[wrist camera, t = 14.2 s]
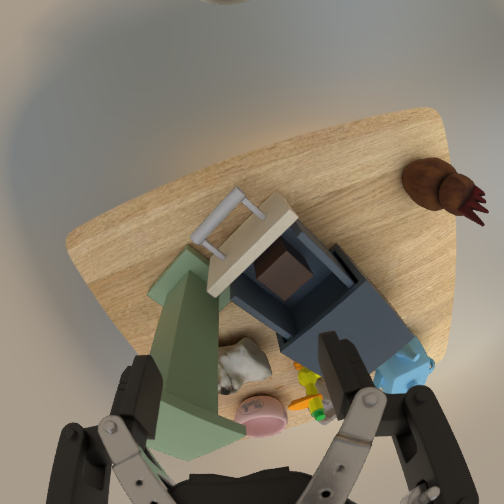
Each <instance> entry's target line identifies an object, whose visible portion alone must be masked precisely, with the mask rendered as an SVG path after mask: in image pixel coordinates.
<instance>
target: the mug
mask: <svg viewBox="0 0 504 504" xmlns="http://www.w3.org/2000/svg"><path fill="white" fill-rule="evenodd" d="M234 422H237V423H240V424H242V425H245V426H246V434H247V437H252V438H264V437H269V436H273V435H275V434H278V433H280V432H281V431H283V430H284V429H285V428H286V426H287V423H288V416H287V412H286V410H285V408H284V406H283V405H282V404H281V403H280V402H279V401H278V400H277V399H275V398H273V397H271V396H254V397H251V398H248V399H246V400H244V401H243V402H242V403H241V404H240V405H239V407H238V409H237V411H236V414H235V420H234Z"/></svg>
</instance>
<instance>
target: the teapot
mask: <svg viewBox="0 0 504 504" xmlns="http://www.w3.org/2000/svg"><path fill="white" fill-rule="evenodd" d="M414 336H415V335H414ZM430 365H431V368H430V369H429V367H430ZM434 367H435V362H434V360H433V359H431V358H430V357H428V356H427V354H426V352H425V349H424V348H423V346H422V344H421V342H420V341H419V339H418V338H417V337H416V336H415V338H413V339H412V340H411V341H410V342H409V343H408V344H407V345H405V346H404V347H403V348H402V349H401V350H399V351H398V352H397V353H396V354H395V355H393V356H392V357H391V358H390V359H388V360H387V361H386V362H385V363H383V364H382V365H381V366H379V367H378V368H377V369H376V373H375V377H374V381H373V383H374V385H375V386H376V388H378V389H380V387H381V388H382V390H383V391H384V393H388V394H399V393H406V392H407V391H408V389H410V388H411V387H413V386H415V385H425V382H426V379H427V376H428V374H430V373H431V372H432V371H433V369H434Z"/></svg>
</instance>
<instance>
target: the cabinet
mask: <svg viewBox="0 0 504 504" xmlns="http://www.w3.org/2000/svg"><path fill="white" fill-rule="evenodd" d="M329 251H330V252H331V253H332V254H333V255H334V256H335V257H336V258H337V259H338V260H339V261H340V262H341V263H342V264H343V266H344V267H345V268H346V270H347V271H348V272H349V274H350V275H351V277H352V278H353V279H354V281H355V282H356V284H355V285H354V286H353V287H352V288H351V289H350V290H349V291H348V292H346V293H345V294H344V295H343V296H342V297H341V298H340V299H338V300H337V301H336V302H335V303H334V304H333V305H331V306H330V307H329V308H328V309H327V310H326V311H324V312H323V313H322V314H321V315H320V316H319V317H317V318H316V319H315V320H314V321H312V322H311V323H310V324H309V325H308V326H306V327H305V328H304V329H303V330H301V331H300V332H299V333H298V334H296V335H295V336H294V337H293V338H291V339H290V340H287V339H286V338H284V337H283V336H281V335H280V334H278V333H277V332H276V335H277V339H278V344H279V347H280V352H281V353H282V354H284V355H286V356H287V357H289V358H291V359H292V360H294V361H296V362H297V363H299V364H301V365H302V366H304V367H306V368H307V369H309V370H311V371H312V372H314V373H316V374H318V375H319V376H321V377H323V375H322V372H321V369H320V366H319V362H318V335H319V333H323V332H328V331H333V330H335V332H336V334H337V336H338V338H339V340H342V339H346V338H347V339H348V340H349V341H351V342H352V343H353V344H354V345H355V347H356V349H357V351H358V353H359V355H360V357H361V359H362V361H363V363H364V365H365V367H366V369H367V371H368V373H369V374H370V373H371V372H373V371H374V370H375V369H377V368H378V367H379V366H381V365H382V364H383V363H385V362H386V361H387V360H388V359H390V358H391V357H392V356H393V355H395V354H396V353H397V352H398V351H399V350H401V349H402V348H403V347H404V346H405V345H407V344H408V343H409V342H410V341H411V340H412V339H413V338H415V336H414V335H413V333H412V332H411V331H410V329H409V328H408V327H407V325H406V324H405V323H404V321H403V320H402V319H401V317H400V316H399V315H398V313H397V312H396V311H395V310H394V308H393V307H392V306H391V304H390V303H389V302H388V301H387V299H386V298H385V297H384V296H383V295H382V293H381V292H380V291H379V290H378V289H377V288H376V286H375V285H374V284H373V283H372V282H371V281H370V280H369V278H368V277H367V276H366V275H365V274H364V273H363V272H362V271H361V269H360V268H359V267H358V266H357V265H356V264H355V263H354V262H353V261H352V259H351V258H350V257H349V256H348V255H347V254H346V253H345V252H344V251H343V250H342V249H341V248H340V246H339V245H338V244H335V245H334V246H333V247H332V248H331V249H330V250H329Z"/></svg>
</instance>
